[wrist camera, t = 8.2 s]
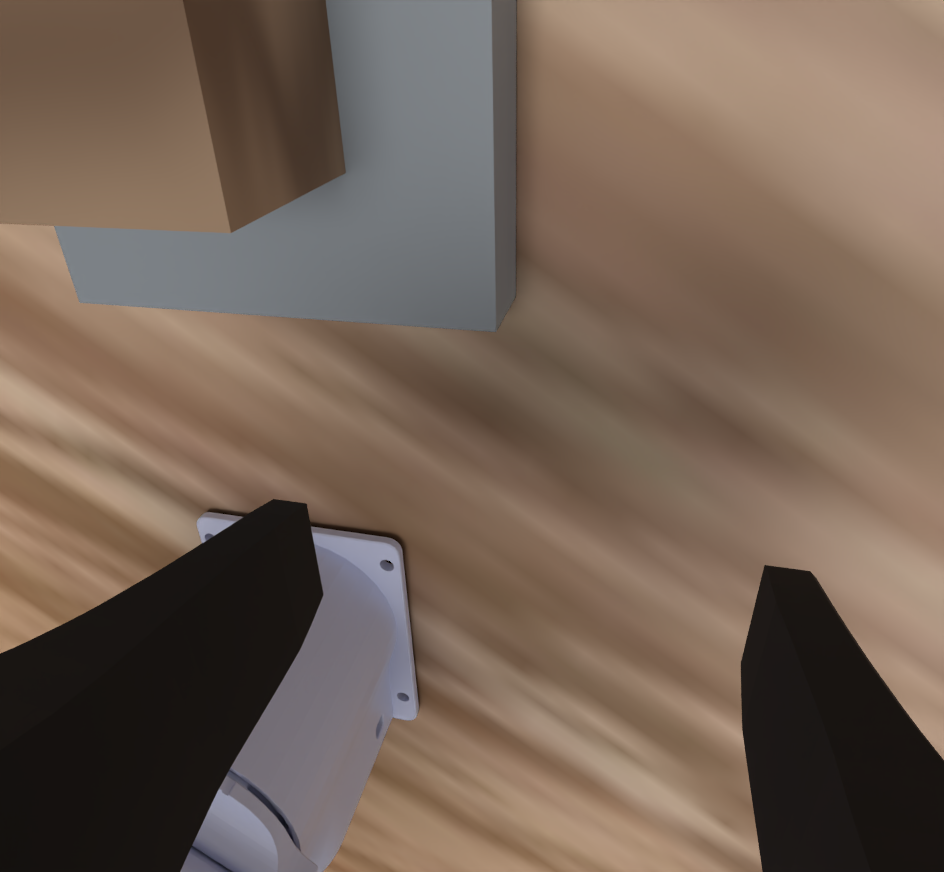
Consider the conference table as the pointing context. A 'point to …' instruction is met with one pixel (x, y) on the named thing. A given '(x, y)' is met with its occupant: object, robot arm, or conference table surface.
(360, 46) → the base slab
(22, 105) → the walnut cube
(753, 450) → the conference table surface
